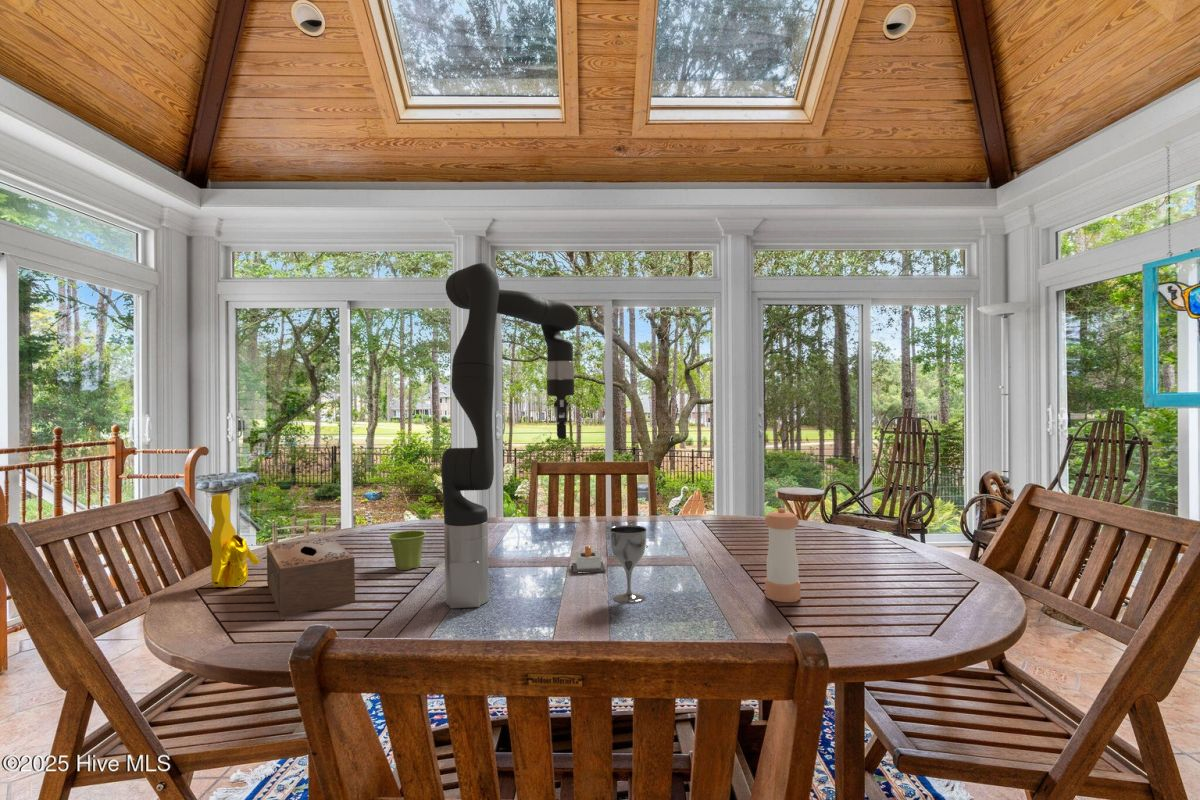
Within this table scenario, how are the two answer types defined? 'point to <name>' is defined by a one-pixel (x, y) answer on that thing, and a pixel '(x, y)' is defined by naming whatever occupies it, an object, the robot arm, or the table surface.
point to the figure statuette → (227, 547)
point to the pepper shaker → (782, 557)
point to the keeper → (588, 553)
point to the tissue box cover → (310, 575)
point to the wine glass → (628, 556)
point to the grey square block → (588, 561)
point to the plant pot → (407, 548)
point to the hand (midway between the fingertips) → (561, 437)
